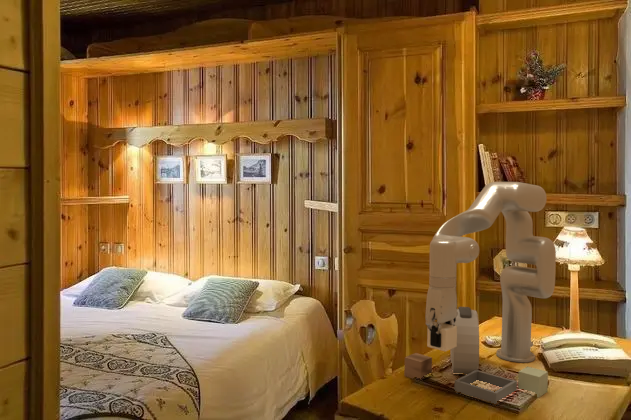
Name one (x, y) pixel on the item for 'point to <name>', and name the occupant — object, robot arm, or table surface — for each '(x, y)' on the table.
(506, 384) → the grey tray
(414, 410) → the table surface
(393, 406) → the table surface
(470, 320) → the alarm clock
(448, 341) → the cream block
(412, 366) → the walnut block
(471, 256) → the robot arm
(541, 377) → the sage block
